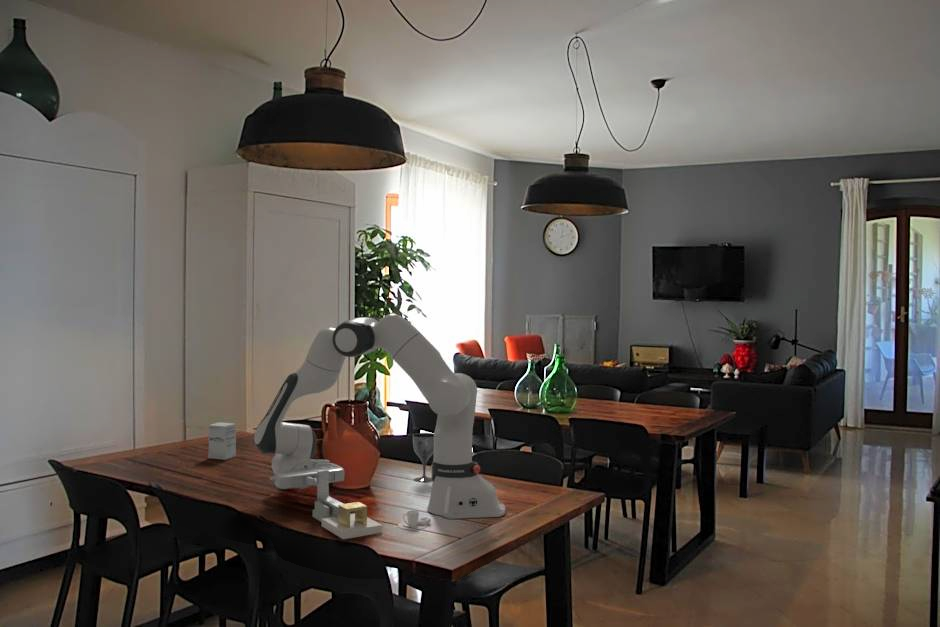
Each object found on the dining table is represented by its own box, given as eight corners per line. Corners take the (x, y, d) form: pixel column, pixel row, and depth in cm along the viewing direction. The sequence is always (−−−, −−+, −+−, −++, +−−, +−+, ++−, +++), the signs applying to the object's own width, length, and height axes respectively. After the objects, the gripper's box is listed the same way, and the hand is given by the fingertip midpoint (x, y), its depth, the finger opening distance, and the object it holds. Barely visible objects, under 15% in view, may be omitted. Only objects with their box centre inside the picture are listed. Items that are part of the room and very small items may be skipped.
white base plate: (321, 526, 213) (321, 518, 213) (358, 519, 219) (358, 512, 219) (343, 539, 201) (343, 531, 201) (382, 532, 208) (382, 524, 208)
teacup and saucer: (430, 522, 219) (430, 508, 218) (430, 531, 211) (430, 516, 211) (398, 522, 218) (398, 507, 218) (397, 531, 210) (397, 516, 210)
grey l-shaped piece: (316, 506, 224) (317, 470, 223) (326, 504, 225) (327, 469, 225) (340, 519, 211) (340, 481, 211) (350, 517, 213) (350, 480, 213)
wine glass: (408, 481, 264) (409, 436, 264) (417, 476, 272) (417, 432, 272) (431, 483, 262) (431, 437, 262) (439, 478, 270) (439, 433, 269)
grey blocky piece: (312, 516, 221) (312, 501, 221) (335, 513, 225) (335, 498, 225) (323, 523, 215) (323, 507, 215) (347, 519, 219) (347, 504, 219)
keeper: (338, 522, 209) (338, 504, 209) (358, 519, 212) (358, 501, 212) (346, 527, 205) (346, 509, 205) (366, 524, 208) (367, 506, 208)
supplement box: (207, 458, 295) (207, 424, 295) (219, 455, 302) (219, 421, 302) (225, 460, 293) (225, 426, 293) (236, 456, 300) (236, 423, 300)
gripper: (267, 466, 231) (285, 475, 220) (332, 458, 243) (352, 467, 231) (267, 488, 232) (285, 498, 220) (332, 479, 243) (352, 489, 232)
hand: (320, 482), depth 226 cm, fingers closed
